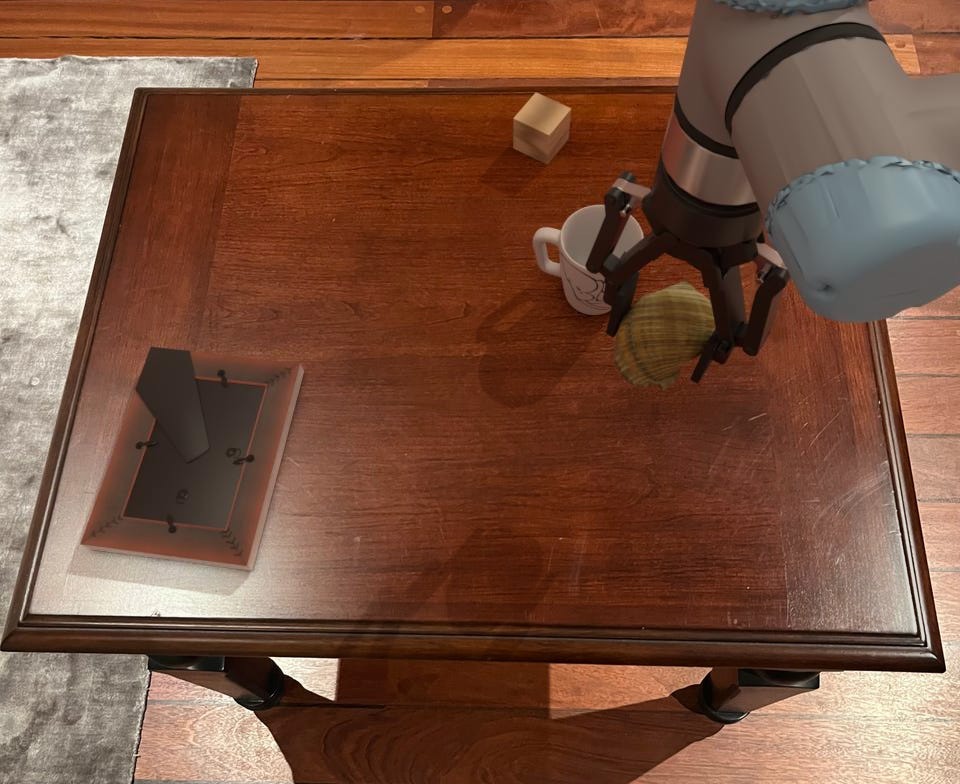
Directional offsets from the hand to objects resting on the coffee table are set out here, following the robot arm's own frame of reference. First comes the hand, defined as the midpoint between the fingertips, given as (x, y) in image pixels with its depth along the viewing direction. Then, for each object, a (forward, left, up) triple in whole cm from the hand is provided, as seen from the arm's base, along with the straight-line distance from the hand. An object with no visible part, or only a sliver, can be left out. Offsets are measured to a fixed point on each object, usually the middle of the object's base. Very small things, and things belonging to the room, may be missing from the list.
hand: (658, 346), depth 69 cm
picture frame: (+35, +28, -15) cm, 47 cm away
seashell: (0, 0, 0) cm, 1 cm away
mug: (+13, -11, -15) cm, 23 cm away
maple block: (+28, -26, -15) cm, 41 cm away
